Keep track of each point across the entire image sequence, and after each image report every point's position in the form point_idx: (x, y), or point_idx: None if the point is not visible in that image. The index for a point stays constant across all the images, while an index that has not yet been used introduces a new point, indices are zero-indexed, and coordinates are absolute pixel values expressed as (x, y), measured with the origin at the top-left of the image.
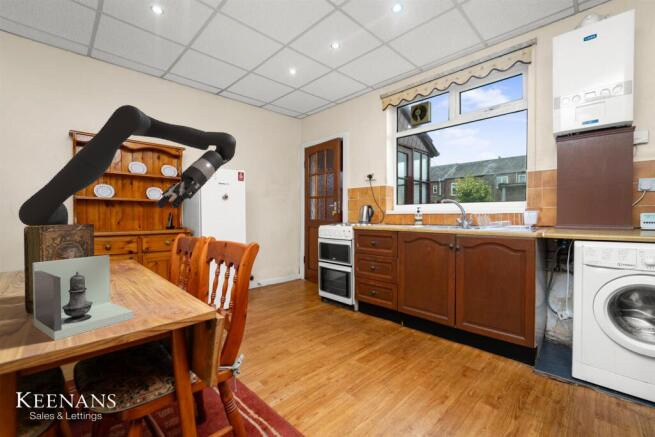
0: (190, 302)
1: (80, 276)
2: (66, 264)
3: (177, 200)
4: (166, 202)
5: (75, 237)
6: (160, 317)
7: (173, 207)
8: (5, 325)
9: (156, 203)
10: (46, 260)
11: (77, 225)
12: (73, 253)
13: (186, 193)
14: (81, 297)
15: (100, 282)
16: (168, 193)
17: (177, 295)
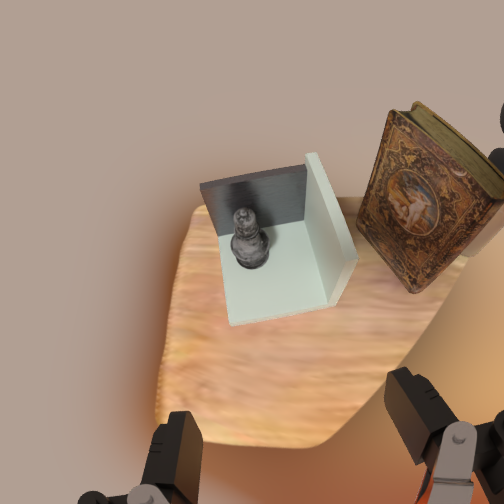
0: (248, 433)
1: (236, 218)
2: (319, 194)
3: (150, 449)
4: (408, 442)
5: (440, 183)
6: (200, 359)
7: (198, 430)
8: (336, 197)
9: (399, 368)
10: (382, 172)
11: (457, 165)
12: (422, 205)
13: (88, 500)
14: (238, 239)
15: (329, 271)
16: (433, 472)
17: (328, 431)
